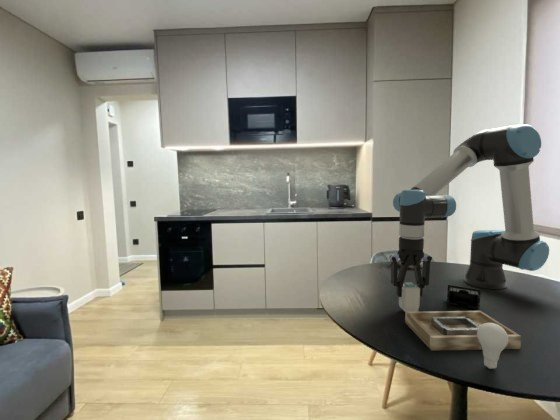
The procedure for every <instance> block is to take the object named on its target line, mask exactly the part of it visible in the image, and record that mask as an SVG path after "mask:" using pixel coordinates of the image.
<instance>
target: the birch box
mask: <svg viewBox="0 0 560 420" xmlns="http://www.w3.org/2000/svg"><path fill="white" fill-rule="evenodd" d="M404 312H405V311H404ZM404 315H405V317H404V323H405V324H406V325H407V327H408V328H410V329H411V330H412V331H413V333H414V334H415V335H416V336H417V337H418V338H419V339H420V340H421V341H422V342H423V343H424V345H426V347H428V349H430V351H472V350H474V351H475V350H477V351H478V350H479V351H481V350H482V351H483V349H482V346H481V344H480V342H479V340H478V337H477V335H450V336H445V335H442V334H441V333H440V332H439V331H438V330H436V329H435V328H434V327H433V326H432V323H431V322H432V317H460V316H465V317H466V318H470V319H471V320H472V321H474V322H475V323H477V324H478V325H480V326H481V325H482V324H484V323H495V324H497V325H499V326H501V327H502V328H503V329H504V330H505V331H506V333H507V335H508V344H507V346H506V347H505V348H504V349H503V350H521V347H522V335H520V334H518V333H517V332H515V331H514V330H513V329H511V328H509V327H508V326H506V325H504V324H503V323H501V322H500V321H498V320H497V319H494V318H493V317H492V316H489V315H488V314H487V313H485V312H483V310H478V311H468V310H441V311H439V310H438V311H437V310H436V311H435V310H434V311H433V310H429V311H420V310H418V312H405V314H404ZM444 326H445V327H446V328H469V327H467V326H466V325H444Z"/></svg>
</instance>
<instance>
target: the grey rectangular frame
mask: <svg viewBox="0 0 560 420" xmlns="http://www.w3.org/2000/svg"><path fill="white" fill-rule="evenodd" d="M431 323H432V326H433V327H434V328H435V329H436V330H438V331H439V332H440V333H441V334H442V335H445V336H450V335H477V331H478V328H479V327H480V325H478V324H477V323H475V322H474V321H472V320H471V319H470V318H466V317H465V316H460V317H432V322H431ZM444 325H466V326H467V327H469V328H446V327H445V326H444Z"/></svg>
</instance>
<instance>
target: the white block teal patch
mask: <svg viewBox="0 0 560 420" xmlns="http://www.w3.org/2000/svg"><path fill="white" fill-rule="evenodd" d="M416 285H417V284H414V283H413V282H412V281H411V282H407V281H406V282H405V281H404V283H403V287H404V288H405V299H404V307H401V306H400V305H399V308H400V309H401V310H403V312H419V310H420V309H419V308H420V307H419V288H418V287H417V286H416Z"/></svg>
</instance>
